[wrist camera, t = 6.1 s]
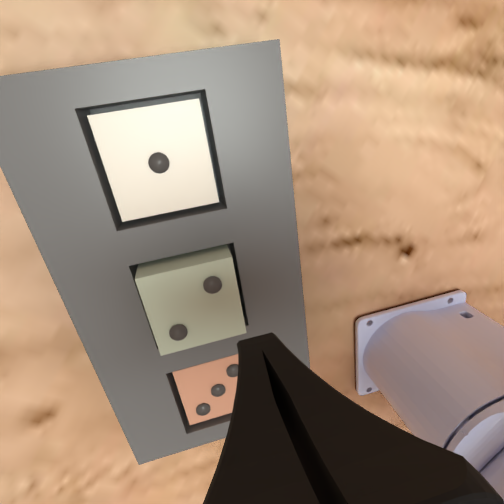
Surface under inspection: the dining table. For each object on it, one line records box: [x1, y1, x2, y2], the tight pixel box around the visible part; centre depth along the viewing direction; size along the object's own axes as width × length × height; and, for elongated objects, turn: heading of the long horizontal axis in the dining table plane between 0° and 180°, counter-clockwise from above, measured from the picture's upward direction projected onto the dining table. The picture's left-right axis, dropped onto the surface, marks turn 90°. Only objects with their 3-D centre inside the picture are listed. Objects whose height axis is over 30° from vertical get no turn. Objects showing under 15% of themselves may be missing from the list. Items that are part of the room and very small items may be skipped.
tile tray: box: [0, 39, 310, 465], centre depth 19 cm, size 12×22×4 cm, turn 9°
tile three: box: [172, 354, 238, 425], centre depth 21 cm, size 5×5×2 cm
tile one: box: [87, 98, 219, 222], centre depth 15 cm, size 5×5×2 cm
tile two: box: [135, 244, 247, 356], centre depth 17 cm, size 5×5×2 cm
